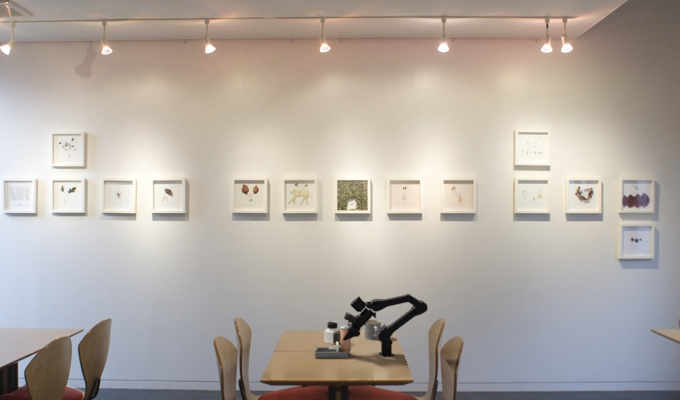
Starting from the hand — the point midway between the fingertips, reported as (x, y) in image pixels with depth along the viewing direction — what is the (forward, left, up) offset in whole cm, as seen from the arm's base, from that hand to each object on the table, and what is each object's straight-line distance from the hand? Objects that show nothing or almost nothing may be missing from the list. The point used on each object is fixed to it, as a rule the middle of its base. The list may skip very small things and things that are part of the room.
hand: (343, 338), depth 256 cm
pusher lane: (+2, +6, -9) cm, 11 cm away
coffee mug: (+25, -29, -9) cm, 39 cm away
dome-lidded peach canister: (0, -1, -7) cm, 7 cm away
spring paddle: (+2, +5, -8) cm, 10 cm away
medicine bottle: (+26, -3, -9) cm, 27 cm away
